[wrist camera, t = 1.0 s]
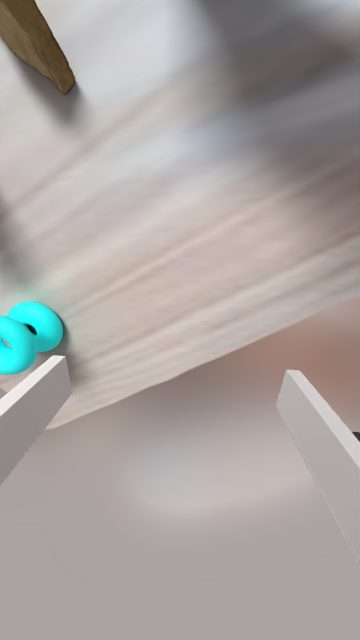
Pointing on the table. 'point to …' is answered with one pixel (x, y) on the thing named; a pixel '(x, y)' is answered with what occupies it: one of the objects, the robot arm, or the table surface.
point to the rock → (34, 41)
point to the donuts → (27, 336)
